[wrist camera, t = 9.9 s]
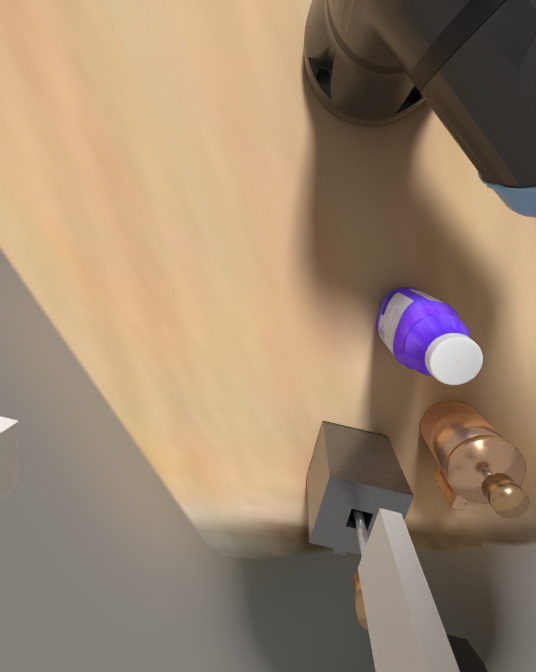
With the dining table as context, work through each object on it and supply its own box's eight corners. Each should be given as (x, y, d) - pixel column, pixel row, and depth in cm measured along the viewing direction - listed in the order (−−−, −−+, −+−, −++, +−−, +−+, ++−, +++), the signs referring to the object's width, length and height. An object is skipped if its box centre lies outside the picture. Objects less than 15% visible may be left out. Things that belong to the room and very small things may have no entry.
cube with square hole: (322, 420, 50) (329, 475, 38) (386, 435, 49) (413, 496, 38) (301, 492, 53) (302, 563, 41) (361, 507, 53) (379, 582, 41)
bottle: (412, 347, 46) (477, 409, 29) (368, 337, 46) (408, 394, 29) (430, 291, 44) (511, 324, 27) (384, 281, 44) (437, 308, 27)
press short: (430, 392, 47) (485, 457, 33) (490, 406, 47) (571, 478, 33) (404, 461, 50) (445, 547, 36) (461, 474, 50) (524, 566, 36)
